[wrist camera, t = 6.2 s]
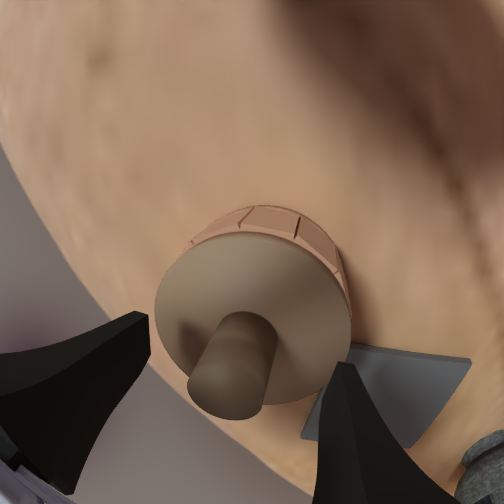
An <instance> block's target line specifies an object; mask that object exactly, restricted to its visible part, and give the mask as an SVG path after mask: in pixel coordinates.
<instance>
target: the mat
mask: <svg viewBox="0 0 504 504" xmlns="http://www.w3.org/2000/svg"><path fill="white" fill-rule="evenodd" d="M345 362H346V363H352V364H354V365H355V366H356V368H357V371H358V373H359V375H360V377H361V379H362V381H363V383H364V385H365V387H366V389H367V391H368V393H369V395H370V397H371V399H372V401H373V403H374V405H375V407H376V408H377V410H378V412H379V414H380V416H381V417H382V419H383V421H384V422H385V424H386V426H387V427H388V429H389V430H390V432H391V433H392V435H393V436H394V438H395V439H396V440H397V442H398V443H399V444H400V446H401V447H402V448H411V447H412V446H413V445H414V444H415V442H416V441H417V440H418V439H419V438H420V437H421V435H422V434H423V433H424V432H425V430H426V429H427V428H428V427H429V426H430V424H431V423H432V422H433V420H434V419H435V418H436V417H437V415H438V414H439V413H440V411H441V410H442V409H443V407H444V406H445V404H446V403H447V402H448V400H449V399H450V397H451V396H452V395H453V393H454V392H455V390H456V389H457V387H458V386H459V384H460V383H461V381H462V380H463V378H464V377H465V375H466V373H467V372H468V370H469V369H470V367H471V365H472V362H471V360H470V359H468V358H458V357H449V356H440V355H432V354H424V353H416V352H409V351H401V350H395V349H388V348H381V347H375V346H369V345H363V344H357V343H351V342H350V348H349V352H348V354H347V357H346V360H345ZM328 384H329V383H328ZM328 384H326V385H325V386H324V387H322V388H321V390H320V392H319V394H318V397H317V399H316V401H315V404H314V406H313V408H312V410H311V413H310V415H309V417H308V419H307V421H306V423H305V426H304V428H303V430H302V432H301V437H300V439H306V440H313V441H318V433H319V417H320V409H321V403H322V397H323V395H324V393H325V391H326V388H327V386H328Z"/></svg>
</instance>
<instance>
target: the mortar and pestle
mask: <svg viewBox="0 0 504 504" xmlns="http://www.w3.org/2000/svg"><path fill="white" fill-rule="evenodd" d="M462 461H463V464H464V466H465V468H466V469H467V470H466V471H465V473H464V474H463V476H462V477H461V479H460V480H459V482H458V485H457V488H456V491H455V494H454V498H455V499H457V500H458V501H460V502H461V504H504V430H498V431H496V432H494V433H492V434H490V435H488V436H486V437H484V438H482V439H480V440H479V441H478V442H477V443H475V444H474V445H473V446H472V447H471V448H469V449H468V450H467V451H466V453H465V455H464V457H463V458H462Z"/></svg>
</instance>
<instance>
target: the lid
mask: <svg viewBox="0 0 504 504" xmlns="http://www.w3.org/2000/svg"><path fill="white" fill-rule="evenodd" d="M154 311H155V322H156V326H157V331H158V333H159V336H160V339H161V341H162V343H163V345H164V347H165V349H166V351H167V352H168V354H169V356H170V357H171V359H172V360H173V361H174V362H175V363H176V365H177V366H178V367H179V368H180V369H181V370H182V371H183V372H184V373H185V374H186V375H187V376H188V377H190V378H189V380H188V383H187V389H188V393H189V395H190V397H191V399H192V400H193V401H194V402H195V403H196V405H198V406H199V407H200V408H201V409H203V410H204V411H206V412H207V413H209V414H211V415H213V416H216V417H219V418H222V419H227V420H245V419H249V418H251V417H253V416H255V415H256V414H257V413H259V411H260V410H261V408H262V405H275V404H283V403H289V402H292V401H296V400H299V399H302V398H304V397H307V396H309V395H311V394H313V393H315V392H317V391H318V390H320V389H321V388H322V387H324V386H325V385H326V384H328V383H329V381H330V379H331V377H332V374H333V372H334V369H335V367H336V364H337V362H338V361H340V362H345V360H346V357H347V354H348V352H349V348H350V342H351V323H350V315H349V308H348V303H347V300H346V297H345V294H344V291H343V289H342V287H341V285H340V283H339V281H338V280H337V279H336V277H335V276H334V274H333V273H332V271H331V270H330V269H329V268H328V267H327V266H326V265H325V264H324V263H323V262H322V261H321V260H320V259H319V258H318V257H316V256H315V255H314V254H313V253H311V252H310V251H308V250H307V249H305V248H303V247H302V246H300V245H299V244H296V243H294V242H292V241H290V240H288V239H285V238H282V237H279V236H275V235H272V234H267V233H261V232H251V231H239V232H229V233H224V234H220V235H216V236H213V237H211V238H208V239H206V240H203V241H202V242H200V243H198V244H196V245H195V246H193V247H192V248H191V249H189V250H188V251H187V252H186V253H184V254H183V255H182V256H181V257H180V258H179V259H178V260H177V261H175V263H174V264H173V265H172V266H171V267H170V268H169V269H168V270H167V272H166V273H165V275H164V277H163V278H162V280H161V282H160V285H159V287H158V290H157V294H156V298H155V308H154Z"/></svg>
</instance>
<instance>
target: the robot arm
mask: <svg viewBox="0 0 504 504" xmlns="http://www.w3.org/2000/svg"><path fill="white" fill-rule="evenodd" d="M150 355H151V349H150V335H149V318H148V315H147V314H144V313H141V312H138V311H133V312H130V313H128V314H126V315H123V316H121V317H119V318H117V319H115V320H113V321H110V322H108V323H106V324H104V325H102V326H100V327H97V328H95V329H93V330H91V331H88V332H86V333H83V334H81V335H78V336H76V337H73V338H71V339H68V340H65V341H62V342H59V343H56V344H52V345H49V346H45V347H41V348H37V349H32V350H27V351H21V352H13V353H4V354H0V504H44V502H45V503H46V504H76V503H75V502H73V501H71V500H70V499H68V498H66V497H65V496H63V495H62V494H60V493H59V492H57V491H56V490H55V489H57V490H58V491H60V492H61V493H63V494H64V495H71V494H74V491H75V488H76V485H77V482H78V480H79V477H80V474H81V472H82V469H83V467H84V464H85V462H86V460H87V458H88V455H89V453H90V451H91V449H92V447H93V445H94V443H95V441H96V439H97V437H98V435H99V433H100V431H101V430H102V428H103V426H104V424H105V423H106V421H107V419H108V418H109V416H110V414H111V413H112V412H113V410H114V409H115V407H116V406H117V405H118V403H119V402H120V401H121V399H122V398H123V397H124V395H125V394H126V393H127V391H128V390H129V389H130V387H131V386H132V385H133V383H134V382H135V380H136V379H137V378H138V377H139V375H140V374H141V372H142V370H143V368H144V367H145V365H146V363H147V361H148V359H149V357H150ZM41 479H42V480H43V481H44V482H43V481H42V480H41ZM45 482H46V483H47V484H50V485H51V486H52V487H54V488H55V489H53V488H52V487H50V486H49V485H47V484H46V483H45ZM312 504H461V502H460V501H458V500H457V499H455V498H454V497H453V496H451V495H450V494H449V493H447V492H446V491H445V490H443V489H442V488H441V487H439V486H438V485H437V484H436V483H435V482H434V481H433V480H432V479H430V478H429V477H428V476H427V475H426V474H425V473H424V472H423V471H422V470H421V469H420V468H419V467H418V466H417V465H416V463H415V462H414V461H413V460H412V459H411V458H410V457H409V456H408V454H407V453H406V452H405V451H404V450H403V448H402V447H401V446H400V444H399V443H398V442H397V440H396V439H395V438H394V436H393V435H392V433H391V432H390V430H389V429H388V427H387V426H386V424H385V422H384V421H383V419H382V417H381V416H380V414H379V412H378V410H377V408H376V407H375V405H374V403H373V401H372V399H371V397H370V395H369V393H368V391H367V389H366V387H365V385H364V383H363V381H362V379H361V377H360V375H359V373H358V371H357V368H356V366H355V365H354V364H352V363H346V362H340V361H338V362H337V364H336V367H335V369H334V372H333V374H332V377H331V379H330V381H329V384H328V386H327V388H326V391H325V393H324V395H323V397H322V403H321V409H320V417H319V433H318V465H317V478H316V485H315V491H314V496H313V501H312Z"/></svg>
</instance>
